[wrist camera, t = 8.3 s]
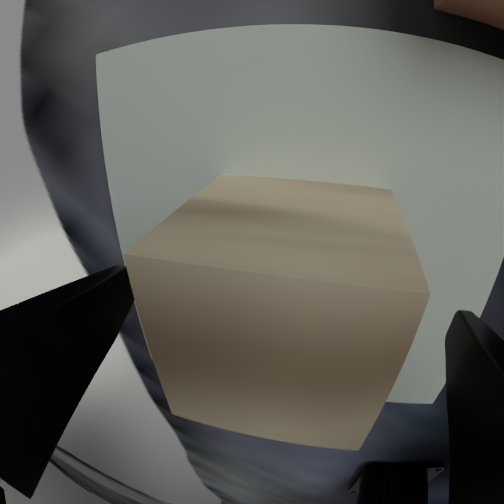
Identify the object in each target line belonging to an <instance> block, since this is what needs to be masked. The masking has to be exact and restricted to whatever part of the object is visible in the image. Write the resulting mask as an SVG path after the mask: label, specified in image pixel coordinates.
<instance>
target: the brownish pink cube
mask: <svg viewBox="0 0 504 504" xmlns="http://www.w3.org/2000/svg"><path fill="white" fill-rule="evenodd" d="M434 9H435V10H439V11H443V12H447V13H451V14H455V15H459V16H462V17H466V18H469V19H473V20H476V21H479V22H482V23H485V24H488V25H491V26H494V27H497V28H500V29H502V30H504V0H434Z"/></svg>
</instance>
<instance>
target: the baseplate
mask: <svg viewBox="0 0 504 504" xmlns="http://www.w3.org/2000/svg"><path fill="white" fill-rule="evenodd" d="M96 73H97V91H98V104H99V115H100V126H101V135H102V143H103V151H104V159H105V166H106V173H107V179H108V185H109V191H110V197H111V203H112V208H113V214H114V219H115V224H116V229H117V234H118V238H119V243H120V247H121V252H122V256H123V260H124V265H125V266H126V263H125V259H124V255H123V254H124V253H125V252H126V251H127V250H128V249H130V248H131V247H132V246H133V245H134V244H135V243H137V242H138V241H139V240H140V239H141V238H143V237H144V236H145V235H146V234H147V233H148V232H150V231H151V230H152V229H153V228H154V227H156V226H157V225H158V224H159V223H161V222H162V221H163V220H164V219H165V218H167V217H168V216H169V215H170V214H172V213H173V212H174V211H175V210H177V209H178V208H179V207H180V206H182V205H183V204H184V203H185V202H187V201H188V200H189V199H190V198H192V197H193V196H194V195H196V194H197V193H198V192H199V191H201V190H202V189H203V188H205V187H206V186H207V185H209V184H210V183H211V182H212V181H214V180H215V179H216V178H218V177H219V176H220V175H236V176H254V177H270V178H284V179H297V180H309V181H320V182H330V183H340V184H349V185H358V186H366V187H374V188H382V189H390V190H391V191H392V194H393V196H394V198H395V200H396V203H397V205H398V207H399V210H400V212H401V214H402V217H403V219H404V222H405V224H406V227H407V229H408V232H409V234H410V237H411V239H412V242H413V245H414V247H415V250H416V253H417V255H418V258H419V261H420V264H421V267H422V270H423V272H424V275H425V278H426V281H427V284H428V288H429V291H430V297H429V300H428V303H427V305H426V308H425V311H424V314H423V317H422V319H421V322H420V325H419V327H418V330H417V332H416V335H415V338H414V340H413V343H412V345H411V347H410V350H409V352H408V355H407V357H406V359H405V362H404V364H403V366H402V368H401V371H400V373H399V375H398V377H397V379H396V381H395V384H394V386H393V388H392V390H391V392H390V394H389V396H388V398H387V400H386V402H397V403H422V404H433V402H434V401H435V399H436V398H437V396H438V394H439V393H440V391H441V390H442V388H443V386H444V385H445V383H446V362H445V336H446V333H447V331H448V328H449V326H450V324H451V321H452V319H453V317H454V314H455V313H456V311H458V310H468V311H472V312H473V313H474V314H475V315H476V316H477V317H478V318H480V316H481V314H482V311H483V309H484V307H485V304H486V302H487V300H488V297H489V295H490V292H491V290H492V287H493V285H494V282H495V280H496V277H497V274H498V272H499V269H500V266H501V263H502V260H503V257H504V60H503V59H500V58H497V57H494V56H491V55H488V54H485V53H482V52H479V51H476V50H472V49H469V48H465V47H462V46H458V45H455V44H451V43H447V42H443V41H438V40H434V39H430V38H425V37H420V36H415V35H410V34H404V33H398V32H392V31H385V30H377V29H369V28H360V27H349V26H335V25H312V24H278V25H255V26H241V27H229V28H220V29H212V30H204V31H197V32H190V33H184V34H179V35H173V36H168V37H163V38H158V39H153V40H149V41H144V42H140V43H136V44H132V45H128V46H124V47H120V48H117V49H113V50H110V51H106V52H103V53H100V54H97V55H96ZM134 303H135V301H134ZM135 307H136V310H137V306H136V303H135ZM137 314H138V317H139V313H138V310H137ZM139 321H140V324H141V320H140V317H139ZM141 328H142V331H143V327H142V324H141ZM143 334H144V331H143ZM144 337H145V334H144ZM145 340H146V337H145ZM146 344H147V340H146ZM147 347H148V344H147ZM148 350H149V347H148ZM149 353H150V350H149ZM150 356H151V353H150ZM151 359H152V356H151ZM152 360H153V359H152Z"/></svg>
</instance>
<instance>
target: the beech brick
mask: <svg viewBox="0 0 504 504" xmlns="http://www.w3.org/2000/svg"><path fill="white" fill-rule="evenodd" d="M123 255H124V259H125V263H126V267H127V272H128V276H129V280H130V284H131V288H132V291H133V295H134V299H135V303H136V306H137V310H138V313H139V317H140V320H141V324H142V327H143V331H144V334H145V337H146V340H147V344H148V347H149V350H150V353H151V356H152V359H153V362H154V365H155V368H156V371H157V374H158V377H159V380H160V382H161V385H162V388H163V391H164V394H165V396H166V399H167V402H168V404H169V407H170V409H171V412H172V414H173V415H176V416H179V417H182V418H186V419H189V420H192V421H196V422H199V423H203V424H207V425H210V426H214V427H218V428H222V429H226V430H230V431H234V432H238V433H242V434H247V435H252V436H256V437H261V438H266V439H271V440H277V441H282V442H288V443H294V444H301V445H308V446H315V447H323V448H332V449H341V450H353V451H359V449H360V448H361V446H362V444H363V442H364V441H365V439H366V437H367V436H368V434H369V432H370V430H371V428H372V427H373V425H374V423H375V421H376V419H377V417H378V416H379V414H380V412H381V410H382V408H383V406H384V404H385V402H386V400H387V398H388V396H389V394H390V392H391V390H392V388H393V386H394V384H395V381H396V379H397V377H398V375H399V373H400V371H401V368H402V366H403V364H404V362H405V359H406V357H407V355H408V352H409V350H410V347H411V345H412V343H413V340H414V338H415V335H416V332H417V330H418V327H419V325H420V322H421V319H422V317H423V314H424V311H425V308H426V305H427V303H428V300H429V297H430V291H429V288H428V284H427V281H426V278H425V275H424V272H423V270H422V267H421V264H420V261H419V258H418V255H417V253H416V250H415V247H414V245H413V242H412V239H411V237H410V234H409V232H408V229H407V227H406V224H405V222H404V219H403V217H402V214H401V212H400V210H399V207H398V205H397V203H396V200H395V198H394V196H393V194H392V191H391V190H390V189H382V188H374V187H366V186H358V185H349V184H340V183H330V182H320V181H309V180H297V179H284V178H270V177H254V176H236V175H220V176H219V177H218V178H216V179H215V180H214V181H212V182H211V183H210V184H209V185H207V186H206V187H205V188H203V189H202V190H201V191H199V192H198V193H197V194H196V195H194V196H193V197H192V198H190V199H189V200H188V201H187V202H185V203H184V204H183V205H182V206H180V207H179V208H178V209H177V210H175V211H174V212H173V213H172V214H170V215H169V216H168V217H167V218H165V219H164V220H163V221H162V222H161V223H159V224H158V225H157V226H156V227H154V228H153V229H152V230H151V231H150V232H148V233H147V234H146V235H145V236H144V237H143V238H141V239H140V240H139V241H138V242H137V243H135V244H134V245H133V246H132V247H131V248H130V249H128V250H127V251H126V252H125V253H124V254H123Z"/></svg>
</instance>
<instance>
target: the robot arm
mask: <svg viewBox="0 0 504 504" xmlns="http://www.w3.org/2000/svg"><path fill="white" fill-rule="evenodd" d="M134 301H135V299H134V295H133V291H132V288H131V284H130V280H129V276H128V272H127V267H126V266H123V265H116V266H113V267H111V268H108V269H105V270H103V271H100V272H97V273H95V274H92V275H89V276H87V277H84V278H81V279H79V280H76V281H74V282H71V283H68V284H66V285H63V286H61V287H58V288H56V289H53V290H51V291H48V292H45V293H43V294H40V295H38V296H36V297H33V298H30V299H28V300H25V301H23V302H20V303H19V304H15V305H13V306H10V307H8V308H6V309H3V310H0V482H1V480H4V481H5V482H6V483H8V484H9V485H10V486H12V487H13V488H15V489H16V490H18V491H19V492H20V493H22V494H23V495H25V496H26V497H28V498H29V499H30V498H31V497H32V496H33V494H34V492H35V489H36V487H37V485H38V483H39V481H40V479H41V477H42V474H43V472H44V470H45V468H46V466H47V464H48V462H49V460H50V458H51V456H52V454H53V452H54V450H55V448H56V447H55V446H56V445H57V443H58V441H59V440H60V438H61V435H62V434H63V432H64V430H65V428H66V426H67V424H68V422H69V420H70V418H71V417H72V415H73V413H74V411H75V409H76V407H77V406H78V404H79V402H80V400H81V398H82V396H83V395H84V393H85V391H86V389H87V387H88V386H89V384H90V382H91V380H92V379H93V377H94V375H95V373H96V372H97V370H98V368H99V366H100V365H101V363H102V361H103V360H104V358H105V356H106V354H107V353H108V351H109V349H110V348H111V346H112V344H113V343H114V341H115V339H116V337H117V335H118V333H119V331H120V329H121V327H122V325H123V323H124V321H125V319H126V317H127V315H128V313H129V311H130V309H131V307H132V305H133V303H134ZM445 362H446V399H447V411H448V426H449V453H450V477H449V503H448V504H504V341H503V340H502V339H501V338H500V337H499V336H498V335H497V334H496V333H495V332H494V331H493V330H491V329H490V328H489V327H488V326H487V325H486V324H485V323H484V322H483V321H482V320H481V319H480V318H478V317H477V316H476V315H475V314H474V313H473V312H472V311H468V310H458V311H456V313H455V314H454V317H453V319H452V321H451V324H450V326H449V328H448V331H447V333H446V336H445ZM443 470H444V463H431V464H377V463H371V464H367V465H366V466H365V467H364V469H363V470H362V471H361V473H360V474H359V475H358V477H357V478H356V479H355V481H354V482H353V483H352V484H351V486H350V487H349V490H348V493H350V494H358V501H357V504H428V483H429V482H430V481H431V480H433V479H434V478H435V477H436V476H437V475H438V474H439V473H441V472H442V471H443ZM0 504H6V501H5V494H4V489H3V488H2V487H0Z"/></svg>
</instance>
